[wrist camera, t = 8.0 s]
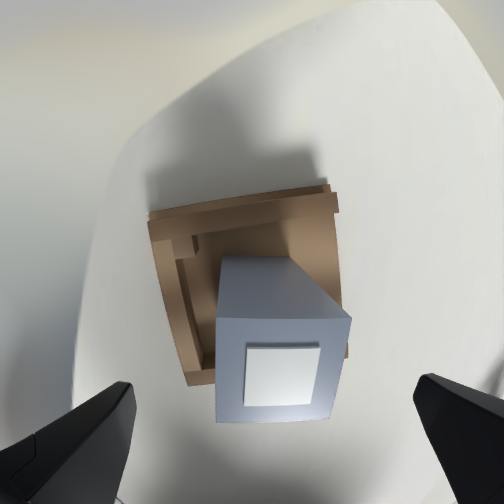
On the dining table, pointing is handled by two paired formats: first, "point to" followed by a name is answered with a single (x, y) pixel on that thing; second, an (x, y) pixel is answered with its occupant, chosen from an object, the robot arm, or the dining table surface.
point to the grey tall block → (275, 342)
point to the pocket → (236, 243)
